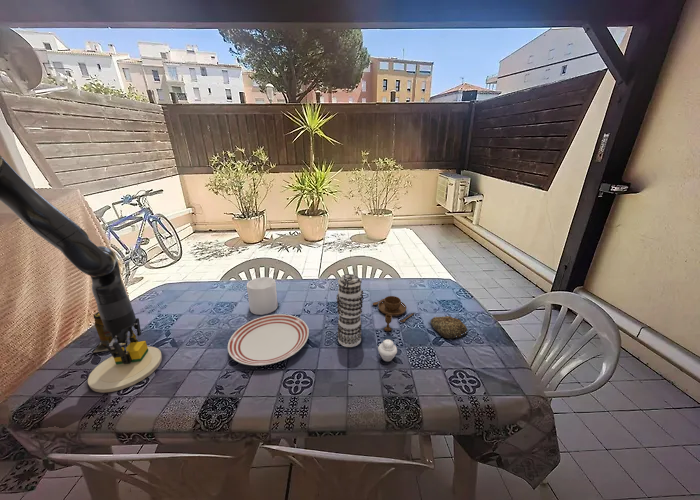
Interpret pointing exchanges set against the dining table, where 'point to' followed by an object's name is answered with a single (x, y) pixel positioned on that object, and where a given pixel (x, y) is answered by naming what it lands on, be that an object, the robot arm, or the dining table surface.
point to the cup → (262, 295)
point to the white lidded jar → (387, 350)
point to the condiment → (102, 334)
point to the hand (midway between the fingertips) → (132, 356)
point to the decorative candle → (349, 310)
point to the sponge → (135, 351)
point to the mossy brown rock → (448, 326)
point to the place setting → (391, 309)
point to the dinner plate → (268, 339)
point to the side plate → (123, 372)
